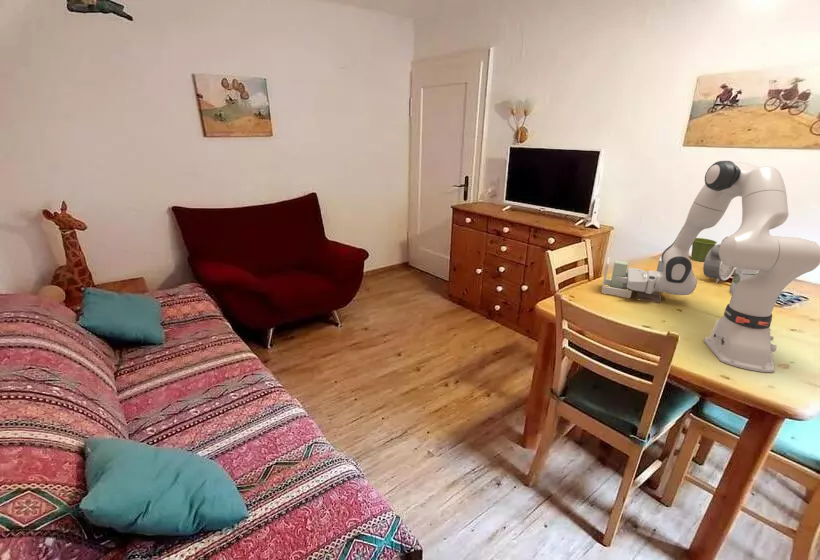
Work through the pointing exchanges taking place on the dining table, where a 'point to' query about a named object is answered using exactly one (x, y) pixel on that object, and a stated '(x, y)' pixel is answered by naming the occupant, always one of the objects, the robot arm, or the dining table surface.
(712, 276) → the alarm clock
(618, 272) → the sage box
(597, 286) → the dining table surface
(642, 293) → the walnut board
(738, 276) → the syrup box
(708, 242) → the plant pot
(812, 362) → the dining table surface
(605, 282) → the white backed tray
